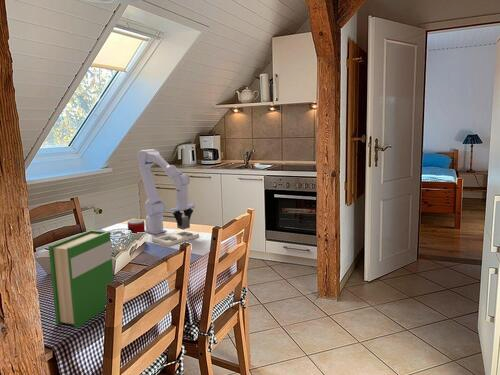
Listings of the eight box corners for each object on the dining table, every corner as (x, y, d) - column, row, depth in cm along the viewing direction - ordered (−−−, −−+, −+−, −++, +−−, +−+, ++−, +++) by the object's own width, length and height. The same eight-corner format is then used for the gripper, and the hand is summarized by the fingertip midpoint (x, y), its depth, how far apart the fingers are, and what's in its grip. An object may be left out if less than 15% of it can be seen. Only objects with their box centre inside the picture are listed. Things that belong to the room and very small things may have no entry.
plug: (177, 228, 206) (176, 216, 205) (184, 226, 209) (183, 214, 208) (182, 229, 203) (182, 217, 202) (189, 227, 206) (189, 216, 205)
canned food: (147, 240, 201) (146, 219, 199) (141, 245, 193) (140, 223, 192) (132, 240, 202) (131, 218, 200) (126, 245, 194) (124, 222, 192)
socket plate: (152, 241, 200) (152, 237, 199) (183, 232, 214) (183, 228, 214) (167, 246, 192) (167, 241, 191) (199, 236, 207) (198, 232, 206)
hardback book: (76, 328, 117) (69, 248, 113) (56, 324, 119) (48, 246, 115) (115, 302, 133) (109, 231, 129) (96, 299, 135) (90, 229, 131)
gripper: (175, 201, 195) (177, 228, 198) (198, 196, 206) (199, 222, 208) (166, 199, 200) (168, 226, 202) (189, 195, 211) (190, 220, 213)
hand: (183, 224), depth 206 cm, fingers closed on plug, 5 cm apart
